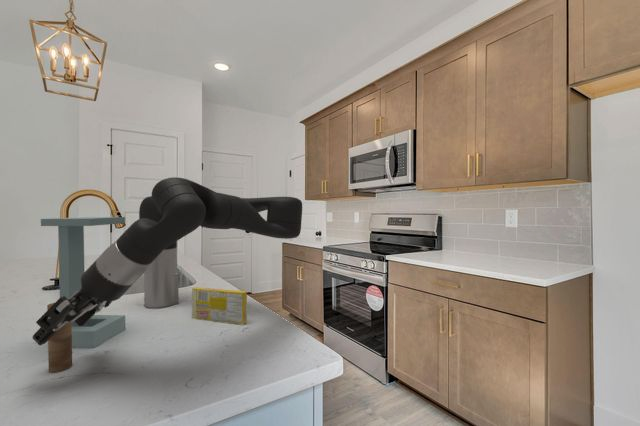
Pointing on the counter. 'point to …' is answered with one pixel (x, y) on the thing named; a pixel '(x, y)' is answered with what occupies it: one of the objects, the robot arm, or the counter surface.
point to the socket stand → (71, 274)
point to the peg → (60, 348)
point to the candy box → (219, 305)
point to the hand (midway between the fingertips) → (59, 331)
